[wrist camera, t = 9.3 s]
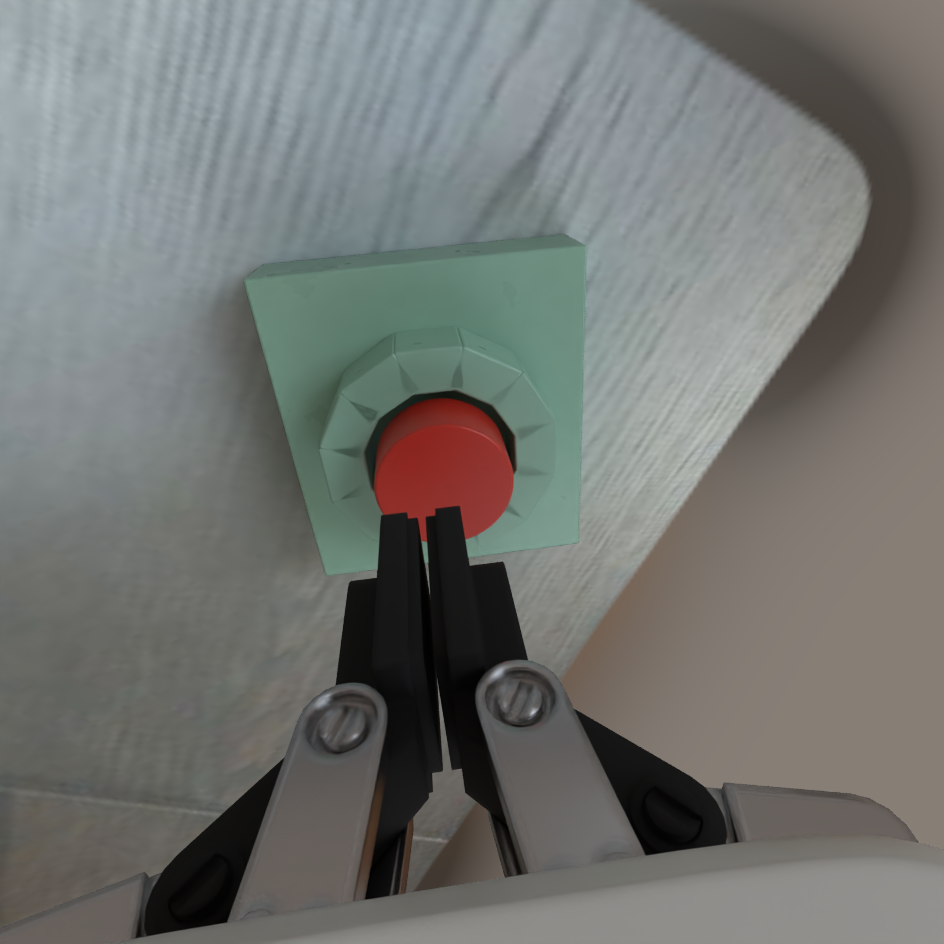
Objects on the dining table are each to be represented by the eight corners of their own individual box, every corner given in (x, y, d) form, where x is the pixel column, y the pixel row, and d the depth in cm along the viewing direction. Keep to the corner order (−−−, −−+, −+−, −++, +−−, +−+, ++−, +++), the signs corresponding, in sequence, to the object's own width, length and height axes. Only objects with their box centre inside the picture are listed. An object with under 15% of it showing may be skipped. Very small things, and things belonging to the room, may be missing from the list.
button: (366, 405, 15) (362, 434, 13) (500, 389, 15) (511, 416, 13) (387, 515, 16) (386, 552, 15) (506, 500, 17) (517, 535, 15)
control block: (260, 264, 16) (221, 295, 13) (566, 233, 16) (609, 256, 13) (332, 538, 21) (318, 614, 18) (564, 509, 22) (594, 577, 18)
